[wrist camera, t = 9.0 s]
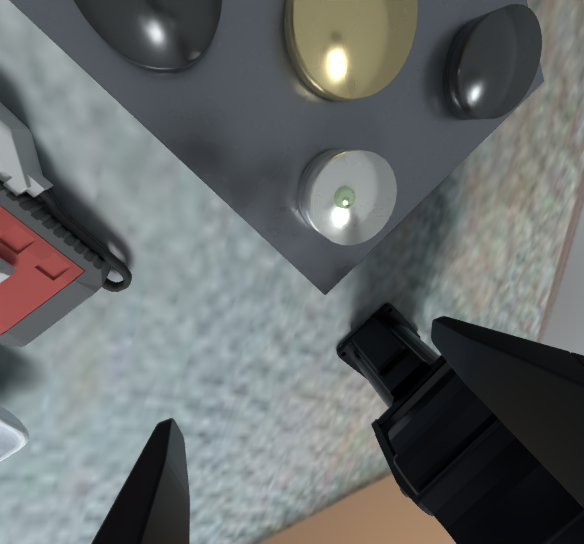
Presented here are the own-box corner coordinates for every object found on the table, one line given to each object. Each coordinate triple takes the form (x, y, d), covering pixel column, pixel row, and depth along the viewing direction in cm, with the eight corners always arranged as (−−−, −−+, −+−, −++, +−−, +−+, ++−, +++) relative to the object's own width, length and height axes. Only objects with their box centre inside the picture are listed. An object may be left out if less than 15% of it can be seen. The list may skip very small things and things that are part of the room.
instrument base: (519, 79, 21) (606, 66, 17) (314, 282, 22) (345, 318, 18) (359, -536, 10) (502, -1072, 5) (-31, -42, 11) (-163, -149, 7)
